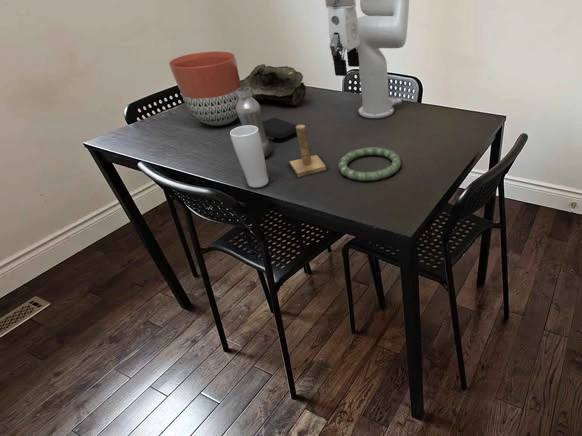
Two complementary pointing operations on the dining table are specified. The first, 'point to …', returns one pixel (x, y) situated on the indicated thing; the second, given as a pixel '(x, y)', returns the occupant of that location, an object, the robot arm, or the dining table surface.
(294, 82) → the hollow geode rock
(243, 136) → the drinking glass
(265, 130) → the carrying case
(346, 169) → the hoop
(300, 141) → the coat peg
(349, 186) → the dining table surface
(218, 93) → the planter
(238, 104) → the plastic bottle
